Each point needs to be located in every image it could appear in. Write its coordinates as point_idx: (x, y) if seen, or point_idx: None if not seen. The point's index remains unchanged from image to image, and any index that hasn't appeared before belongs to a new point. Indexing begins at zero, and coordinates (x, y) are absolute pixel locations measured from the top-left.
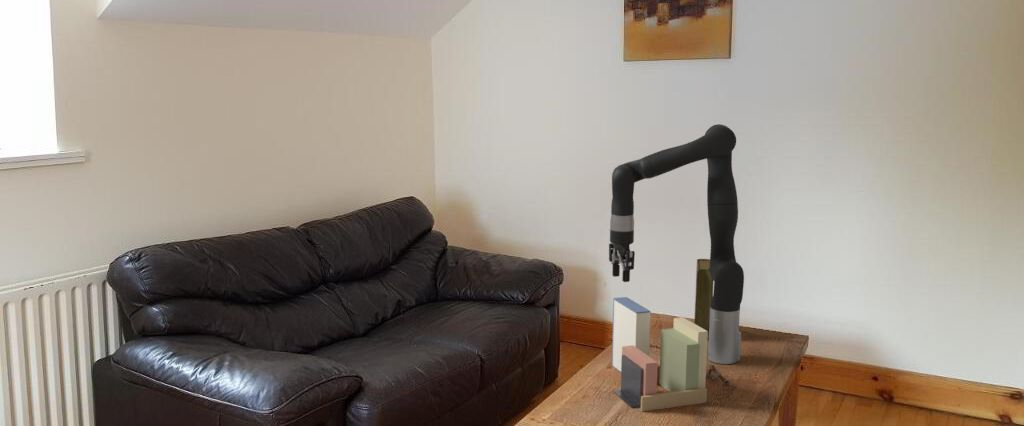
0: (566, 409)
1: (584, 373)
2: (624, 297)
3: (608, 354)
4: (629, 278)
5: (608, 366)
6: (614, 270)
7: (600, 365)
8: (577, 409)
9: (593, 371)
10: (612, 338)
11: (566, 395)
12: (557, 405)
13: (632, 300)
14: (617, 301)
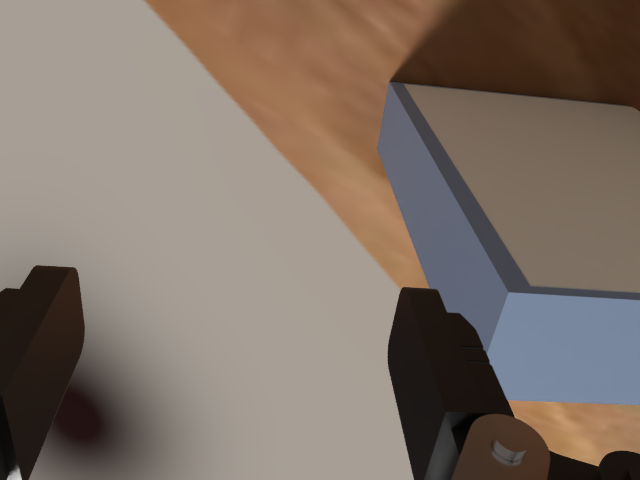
0: (615, 433)
1: (400, 285)
2: (511, 315)
3: (229, 83)
4: (476, 334)
5: (379, 166)
6: (52, 398)
7: (351, 191)
8: (636, 412)
9: (399, 247)
10: (403, 214)
11: (534, 401)
12: (577, 441)
13: (636, 299)
14: (552, 396)
